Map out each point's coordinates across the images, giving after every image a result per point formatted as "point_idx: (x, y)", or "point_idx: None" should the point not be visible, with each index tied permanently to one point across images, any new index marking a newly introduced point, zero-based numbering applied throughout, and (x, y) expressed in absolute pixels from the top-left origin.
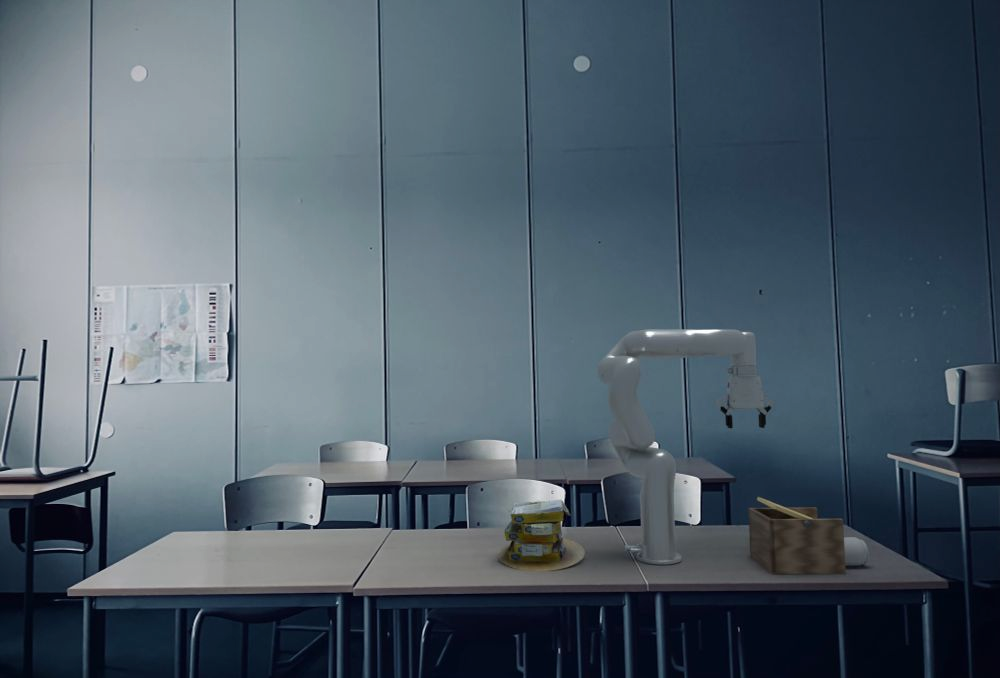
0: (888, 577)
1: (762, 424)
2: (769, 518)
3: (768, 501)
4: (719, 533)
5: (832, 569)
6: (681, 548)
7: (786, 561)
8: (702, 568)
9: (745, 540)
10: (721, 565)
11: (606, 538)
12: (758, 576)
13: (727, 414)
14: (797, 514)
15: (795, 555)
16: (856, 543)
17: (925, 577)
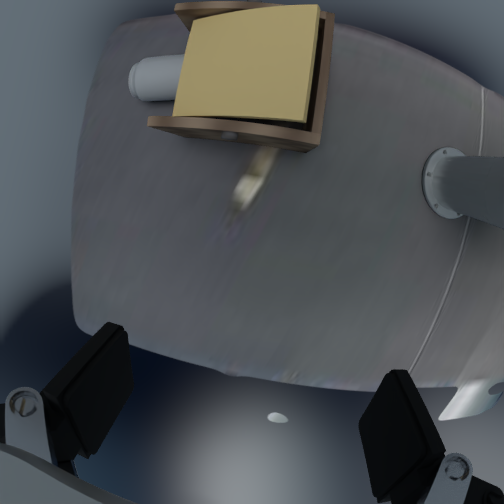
0: (158, 30)
1: (111, 341)
2: (327, 25)
3: (298, 67)
4: (272, 330)
5: None
6: (391, 242)
7: None
8: (410, 113)
9: (251, 274)
10: (377, 119)
11: (452, 323)
12: (345, 52)
13: (456, 461)
14: (264, 7)
15: None
16: (149, 59)
17: (116, 35)
